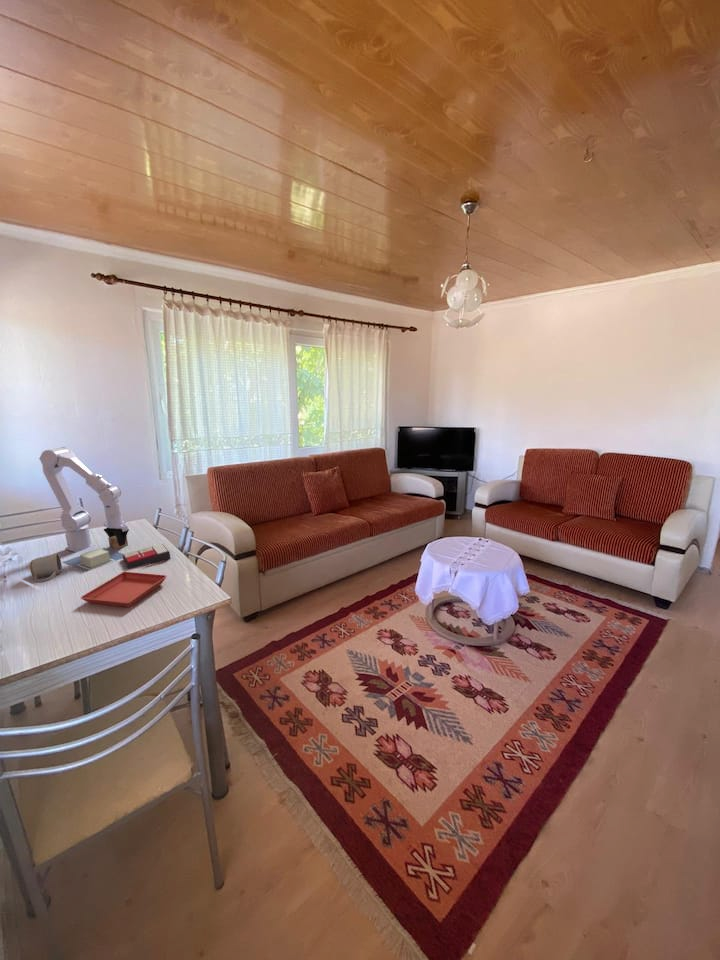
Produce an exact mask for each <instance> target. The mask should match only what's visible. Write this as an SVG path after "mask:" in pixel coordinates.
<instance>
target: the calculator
mask: <svg viewBox="0 0 720 960" xmlns="http://www.w3.org/2000/svg"><path fill="white" fill-rule="evenodd" d="M123 554H124V555H123V558H122V560H123V562H124V564H125V566H126V567H127V569H133V568H136V567H141V566H145V565H147V566H149V564H150V565H152V564H156V563H160V562H161V561H162V562H165V561H168V560H171V554H170V551H169V550H168V548H167V547H166V546H165V545H164V543H159V544H155V545H152V546H146V547H143V548H140V549H138V550H137V549H136V550H132V551H129V552H125V553H123Z"/></svg>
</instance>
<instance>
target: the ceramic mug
mask: <svg viewBox="0 0 720 960" xmlns="http://www.w3.org/2000/svg"><path fill="white" fill-rule="evenodd" d="M29 570H30V574H31V576H32V578H34V580H35V581H36V582H37V583H38V582H40V583H42V582H46V581H50V580H52V579H54V578H55V577H56V575H59V574H61V572H60V571H62V570H63V564H62V560H61V557H60V555H59V553H53V554H50V555H45V556H42V557H41V556H40V557H37V558H34V559H32V560H31V561H30V563H29ZM43 577H47V578H44V579H39V578H43Z"/></svg>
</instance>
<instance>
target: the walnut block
mask: <svg viewBox="0 0 720 960" xmlns="http://www.w3.org/2000/svg"><path fill="white" fill-rule="evenodd" d="M107 540H108V544H109V549H110V548H111V549H113V550H119V549H121V548H125V547H127V546H129V542H128V535H127V536H126V542H125V545H122V546H119V544H118V540H117V538H116V536H112V537H109V536H108V539H107Z"/></svg>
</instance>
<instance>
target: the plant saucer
mask: <svg viewBox="0 0 720 960" xmlns="http://www.w3.org/2000/svg"><path fill="white" fill-rule="evenodd" d="M166 578H167V575H164V574H155V573H154V574H153V573H145V572H144V573H143V572H132V571H122V572H121V573H119V574H117V575H115V576H114V577H113V578H111V579H109V580H106V582H104V583H102V584H101V585H99V586H97V587H96V588H93V589H92V590H90V591H89V592H86V593H84V594H83V595H82V596H81V597H80V599H81V600H82V601H85V602H87V603H90V604H93V603H94V605H102V604H103V605H104V606H111V605H112V606H114V607H121V608H122V607H123V608H130V607H132V606H133V605H135V604H137V602H139V601H140V600H141V599H143V598H145V597H146V596H148V595H149V594H150V593H152V592H153V591H155V590H156V589H158V587H160V586H161V585H162V584H163V583H164V581H165V579H166ZM151 591H152V592H151Z"/></svg>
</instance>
